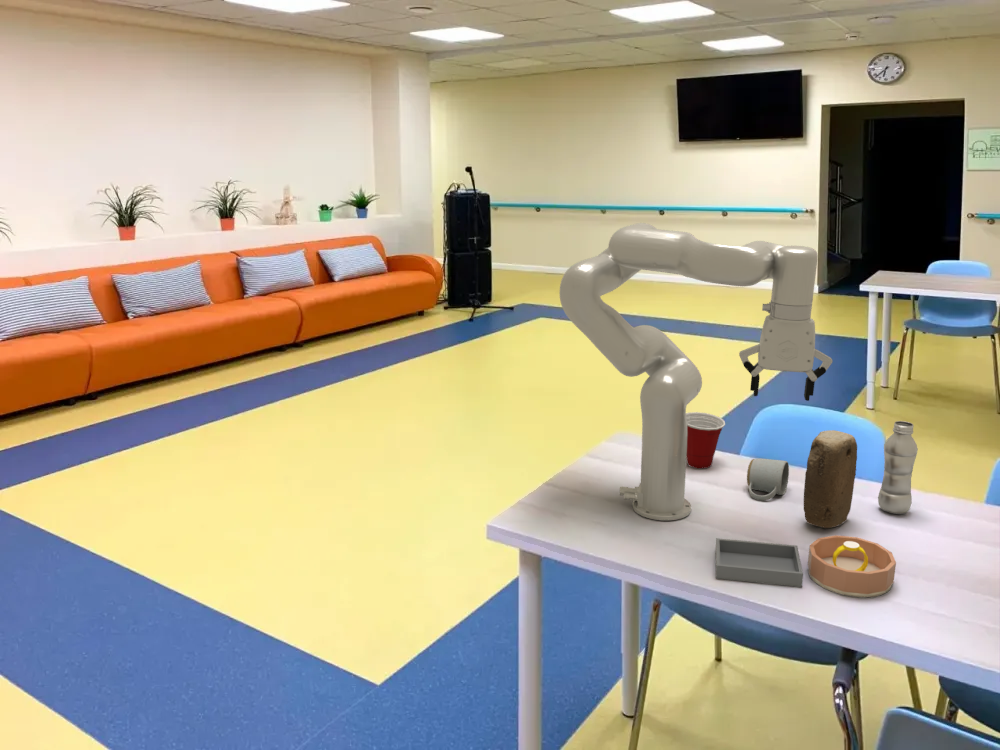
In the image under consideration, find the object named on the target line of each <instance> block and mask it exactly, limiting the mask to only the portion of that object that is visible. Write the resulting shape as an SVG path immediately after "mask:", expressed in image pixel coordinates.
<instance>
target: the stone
mask: <svg viewBox="0 0 1000 750" xmlns="http://www.w3.org/2000/svg"><path fill="white" fill-rule="evenodd" d="M857 461H858V444H857V439H856V438H855V437H854V435H852V434H850V433H846V432H843V431H838V430H829V429H828V430H823V431H820V432H819V433H818V434H817V436H815V437H814V439H813V440H812V442H811V445H810V450H809V454H808V457H807V462H806V471H805V475H804V476H805V477H804V489H803V512H804V518H805V519H804V520H805V521H806V523H808V524H811V525H813V526H816V527H818V528H819V527H820V528H822V529H823V528H824V529H831V528H836V527H838V526H841V525H842V524H844V523H845V522H847V519H848V516H849V514H850V512H851V508H852V501H853V494H854V488H855V487H854V486H855V479H856V473H857Z"/></svg>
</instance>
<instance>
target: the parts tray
mask: <svg viewBox="0 0 1000 750" xmlns="http://www.w3.org/2000/svg"><path fill="white" fill-rule="evenodd" d="M803 571H804V570H803V565H802V560H801V556H800V552H799V546H798V545H795V544H783V543H775V542H774V543H773V542H761V541H752V540H751V541H750V540H738V539H728V538H719V537H718V538H715V579H717V580H726V581H727V580H728V581H737V582H738V581H739V582H748V583H754V584H755V583H756V584H766V585H767V584H768V585H776V586H777V585H778V586H785V587H786V586H787V587H788V586H790V587H797V588H803V581H804V580H803V579H804V572H803Z"/></svg>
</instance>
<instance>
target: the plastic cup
mask: <svg viewBox="0 0 1000 750" xmlns="http://www.w3.org/2000/svg"><path fill="white" fill-rule="evenodd" d="M686 419H687V456H686V463H687V465H688V466H689V467H690V468H695V469H709V468H710V467H711V466H712V464H713V460H714V456H715V454H716V450H717V446H718V442H719V438H720V434H721V433H722V430H723V429H724V427H725V426H726V422H725V420H724V419H723V418H721V417H719V416H717V415H715V414H711V413H707V412H698V411H692V412H686Z"/></svg>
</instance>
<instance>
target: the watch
mask: <svg viewBox="0 0 1000 750" xmlns="http://www.w3.org/2000/svg"><path fill="white" fill-rule="evenodd" d="M844 550H848V551H858V550H859V551H861V552H862V553H863V554H864V563H863V564H862V566H861V567H860V568H858V569H857V570H854V571H865V569H866V567H867V566H868V557H867V555H866V553H865V551H864V550H863V548H861V547H860V545H859V544H858V543H856V542H853V541H846V542H844V544H843V545H842V546H840V547H839V548H837V550H836V551H835V552H834V553H833V558H832V561H833V563H834V566H837V565H836V559H837V556H838V555H839V554H840V553H841V552H842V551H844ZM837 567H838V566H837Z"/></svg>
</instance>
